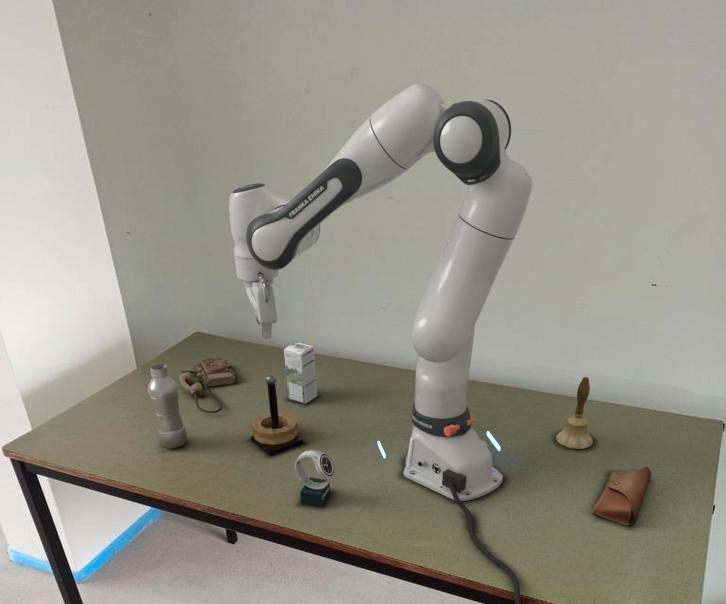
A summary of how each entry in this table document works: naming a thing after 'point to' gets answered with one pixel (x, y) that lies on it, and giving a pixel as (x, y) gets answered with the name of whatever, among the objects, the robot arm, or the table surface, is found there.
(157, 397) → the plastic bottle
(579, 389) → the hand bell
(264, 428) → the ring
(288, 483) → the table surface
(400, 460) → the table surface
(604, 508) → the sunglasses case
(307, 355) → the syrup box
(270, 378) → the stand
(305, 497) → the watch
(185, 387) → the telephone
